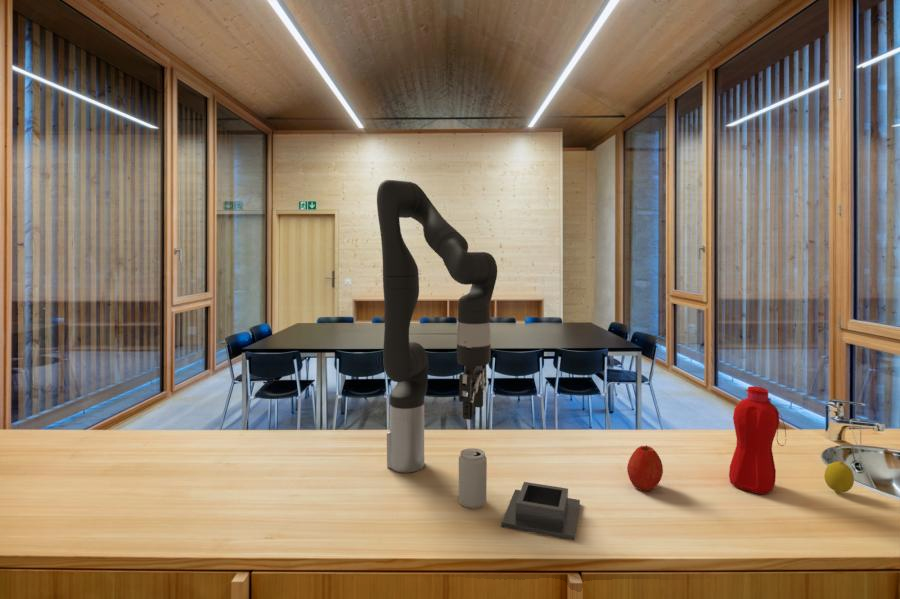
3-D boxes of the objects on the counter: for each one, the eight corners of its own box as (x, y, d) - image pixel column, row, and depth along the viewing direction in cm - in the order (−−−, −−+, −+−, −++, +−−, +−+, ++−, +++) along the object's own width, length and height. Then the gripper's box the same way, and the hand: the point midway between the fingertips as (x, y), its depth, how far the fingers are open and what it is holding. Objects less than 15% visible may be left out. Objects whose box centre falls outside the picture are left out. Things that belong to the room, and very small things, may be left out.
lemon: (846, 489, 120) (849, 458, 119) (856, 500, 114) (859, 468, 114) (819, 486, 121) (822, 455, 121) (828, 496, 116) (831, 464, 115)
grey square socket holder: (501, 526, 103) (501, 506, 103) (515, 493, 117) (515, 475, 117) (574, 540, 98) (575, 519, 98) (579, 504, 112) (580, 485, 112)
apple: (666, 497, 116) (668, 453, 115) (629, 493, 117) (631, 450, 116) (657, 481, 124) (660, 440, 123) (623, 478, 125) (625, 437, 124)
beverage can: (484, 511, 109) (484, 459, 108) (456, 508, 110) (456, 457, 109) (487, 497, 115) (488, 448, 114) (461, 494, 117) (461, 446, 115)
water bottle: (778, 502, 114) (786, 397, 111) (725, 486, 121) (731, 387, 119) (785, 487, 121) (792, 388, 118) (734, 474, 128) (741, 380, 125)
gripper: (466, 335, 117) (466, 401, 119) (447, 346, 104) (447, 421, 105) (497, 337, 115) (496, 405, 116) (481, 349, 101) (481, 425, 103)
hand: (473, 412), depth 111 cm, fingers open, 8 cm apart
